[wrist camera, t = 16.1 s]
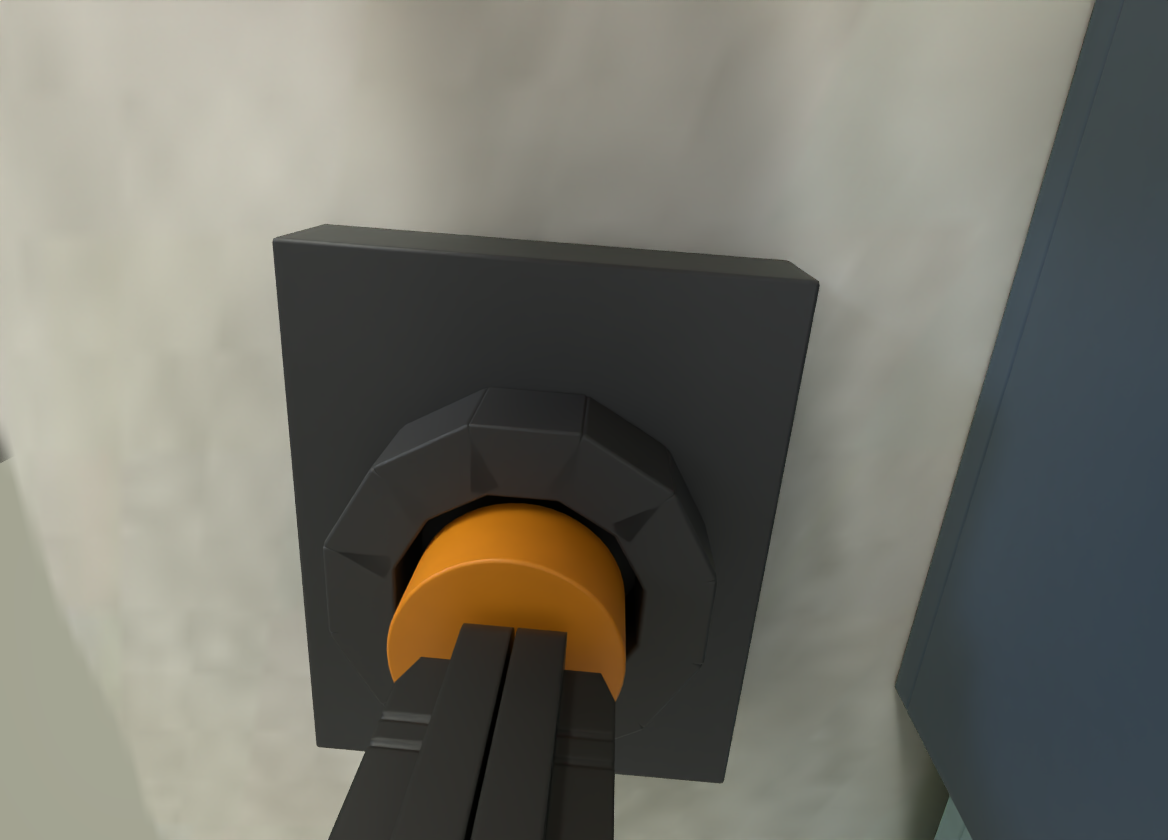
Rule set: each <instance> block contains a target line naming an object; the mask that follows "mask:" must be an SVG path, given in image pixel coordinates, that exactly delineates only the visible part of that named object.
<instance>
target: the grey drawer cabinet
mask: <svg viewBox="0 0 1168 840" xmlns="http://www.w3.org/2000/svg"><path fill="white" fill-rule="evenodd" d="M895 688H896V690H897V692H898V694H899V696H900V698H901V700H902V702H903V704H904V706H905V708H906V709H907V712H908V715H909V717H910V718H911V720H912V722H913V724H914V726H915V728H916V730H917V732H918V734H919V736H920V738H921V740H922V742H923V744H924V746H925V748H926V750H927V752H928V754H929V756H930V758H931V760H932V762H933V764H934V765H935V767H936V769H937V771H938V773H939V775H940V777H941V779H942V781H943V783H944V785H945V787H946V789H947V791H948V793H949V795H950V797H951V799H952V801H953V803H954V805H955V807H956V809H957V810H958V812H959V814H960V816H961V818H962V820H963V822H964V824H965V826H966V828H967V830H968V832H969V834H970V836H971V838H972V840H1168V0H1096V1H1095V5H1094V8H1093V12H1092V15H1091V19H1090V22H1089V25H1088V29H1087V32H1086V36H1085V39H1084V42H1083V46H1082V49H1081V53H1080V56H1079V59H1078V63H1077V66H1076V70H1075V73H1074V77H1073V80H1072V83H1071V87H1070V90H1069V94H1068V97H1067V100H1066V104H1065V107H1064V111H1063V114H1062V118H1061V121H1060V124H1059V128H1058V131H1057V135H1056V138H1055V141H1054V145H1053V148H1052V152H1051V155H1050V158H1049V162H1048V165H1047V169H1046V172H1045V176H1044V179H1043V182H1042V186H1041V189H1040V193H1039V196H1038V199H1037V203H1036V206H1035V210H1034V213H1033V217H1032V220H1031V223H1030V227H1029V230H1028V234H1027V237H1026V240H1025V244H1024V247H1023V251H1022V254H1021V257H1020V261H1019V264H1018V268H1017V271H1016V275H1015V278H1014V281H1013V285H1012V288H1011V292H1010V295H1009V298H1008V302H1007V305H1006V309H1005V312H1004V316H1003V319H1002V322H1001V326H1000V329H999V333H998V336H997V339H996V343H995V346H994V350H993V353H992V356H991V360H990V363H989V367H988V370H987V374H986V377H985V380H984V384H983V387H982V391H981V394H980V397H979V401H978V404H977V408H976V411H975V415H974V418H973V421H972V425H971V428H970V432H969V435H968V438H967V442H966V445H965V449H964V452H963V455H962V459H961V462H960V466H959V469H958V473H957V476H956V479H955V483H954V486H953V490H952V493H951V496H950V500H949V503H948V507H947V510H946V514H945V517H944V520H943V524H942V527H941V531H940V534H939V537H938V541H937V544H936V548H935V551H934V555H933V558H932V561H931V565H930V568H929V572H928V575H927V578H926V582H925V585H924V589H923V592H922V595H921V599H920V602H919V606H918V609H917V613H916V616H915V619H914V623H913V626H912V630H911V633H910V636H909V640H908V643H907V647H906V650H905V654H904V657H903V660H902V664H901V667H900V671H899V674H898V677H897V681H896V684H895Z"/></svg>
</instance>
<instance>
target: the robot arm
mask: <svg viewBox="0 0 1168 840" xmlns="http://www.w3.org/2000/svg"><path fill="white" fill-rule="evenodd" d="M566 647H567V632H561V631H550V630H539V629H528V628H517V631H516V635H515V630H514V627H504V626H493V625H482V624H471V623H463V625H462V627H461V629H460V632H459V635H458V638H457V641H456V644H455V647H454V650H453V653H452V656H451V659H441V658H430V657H420V658H419V659H418V660H417V661H416V662H415V663H414V664H413V665H412V666H411V667H410V668H409V669H408V670H407V671H406V672H405V673H404V674H403V675H402V676H401V677H399V678H398V679H397V680H396V681H395V683H394V686H393V688H392V690H391V693H390V695H389V697H388V700H387V702H386V704H385V707H384V709H383V712H382V717H381V719H379V721H378V723H377V726H376V728H375V730H374V733H373V735H372V737H371V742H370V746H368V747H367V749H366V752H365V754H364V756H363V759H362V761H361V763H360V766H359V768H358V770H357V773H356V775H355V778H354V780H353V782H352V785H351V787H350V789H349V792H348V794H347V796H346V799H345V801H344V803H343V806H342V808H341V810H340V813H339V815H338V818H337V820H336V822H335V825H334V827H333V829H332V832H331V834H330V836H329V839H328V840H614V780H615V769H614V765H615V704H616V702H615V700H614V698H613V696H612V694H611V692H610V690H609V688H608V686H607V684H606V682H605V680H604V678H603V676H602V674H601V673H595V672H584V671H573V670H565V660H566Z"/></svg>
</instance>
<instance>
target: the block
mask: <svg viewBox="0 0 1168 840" xmlns="http://www.w3.org/2000/svg"><path fill="white" fill-rule="evenodd" d="M273 253H274V264H275V276H276V287H277V299H278V310H279V321H280V333H281V344H282V356H283V367H284V378H285V390H286V401H287V413H288V424H289V435H290V447H291V458H292V470H293V481H294V492H295V504H296V515H297V527H298V538H299V549H300V561H301V572H302V584H303V595H304V606H305V618H306V629H307V641H308V652H309V663H310V675H311V686H312V698H313V709H314V720H315V732H316V743H317V746H318V747H324V748H335V749H346V750H357V751H366V749H367V747H368V746H370V742H371V737H372V735H373V733H374V730H375V728H376V726H377V723H378V721H379V719H381V717H382V712H383V709H384V707H385V704H386V702H387V700H388V697H389V695H390V693H391V690H392V688H393V686H394V681H393V679H392V676H391V673H390V669H389V665H388V658H387V637H388V632H389V627H390V624H391V621H392V619H393V616H394V614H395V611H396V609H397V607H398V605H399V603H400V601H401V599H402V597H403V595H404V593H405V590H406V588H407V586H408V584H409V582H410V580H411V578H412V576H413V574H414V572H415V569H416V567H417V565H418V563H419V561H420V559H421V557H422V555H423V553H424V551H425V549H426V548H427V546H428V544H429V543H430V542H431V540H432V539H433V538H434V537H435V535H436V534H437V533H438V532H439V531H440V530H441V529H443V528H444V527H445V526H446V525H447V524H449V523H450V522H452V521H453V520H454V519H456V518H458V517H460V516H462V515H464V514H466V513H468V512H470V511H473V510H476V509H478V508H481V507H485V506H490V505H495V504H503V503H526V504H533V505H539V506H543V507H547V508H551V509H554V510H556V511H559V512H561V513H564V514H566V515H568V516H570V517H572V518H574V519H576V520H577V521H579V522H580V523H582V524H583V525H585V526H586V527H587V528H589V529H590V530H591V531H592V532H593V533H594V534H595V535H597V536H598V537H599V538H600V539H601V541H602V542H603V543H604V544H605V545H606V546H607V548H608V549H609V551H610V552H611V554H612V555H613V557H614V558H615V560H616V563H617V565H618V567H619V569H620V572H621V575H622V579H623V583H624V591H625V631H626V672H625V677H624V682H623V686H622V688H621V691H620V694H619V696H618V698H617V700H616V701H615V702H616V704H615V765H614V769H615V774H623V775H634V776H645V777H656V778H667V779H678V780H689V781H700V782H711V783H723V781H724V778H725V772H726V767H727V762H728V757H729V752H730V746H731V741H732V736H733V731H734V726H735V721H736V715H737V710H738V705H739V700H740V695H741V690H742V684H743V679H744V674H745V669H746V664H747V658H748V653H749V648H750V643H751V638H752V633H753V627H754V622H755V617H756V612H757V607H758V602H759V596H760V591H761V586H762V581H763V576H764V571H765V565H766V560H767V555H768V550H769V545H770V539H771V534H772V529H773V524H774V519H775V514H776V508H777V503H778V498H779V493H780V488H781V483H782V477H783V472H784V467H785V462H786V457H787V452H788V446H789V441H790V436H791V431H792V426H793V420H794V415H795V410H796V405H797V400H798V395H799V389H800V384H801V379H802V374H803V369H804V364H805V358H806V353H807V348H808V343H809V338H810V332H811V327H812V322H813V317H814V312H815V307H816V301H817V296H818V291H819V286H820V285H819V281H817V280H816V279H814V278H813V277H811V276H810V275H808V274H807V273H805V272H804V271H802V270H801V269H800V268H798V267H797V266H795V265H794V264H792V263H791V262H789V261H784V260H772V259H759V258H746V257H734V256H721V255H708V254H696V253H683V252H670V251H658V250H645V249H632V248H620V247H607V246H594V245H582V244H569V243H556V242H544V241H531V240H518V239H506V238H493V237H480V236H468V235H455V234H442V233H430V232H417V231H404V230H392V229H379V228H366V227H354V226H341V225H328V224H324V225H320V226H317V227H313V228H309V229H305V230H302V231H298V232H294V233H291V234H287V235H283V236H280V237H276V238H274V239H273Z"/></svg>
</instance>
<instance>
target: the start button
mask: <svg viewBox="0 0 1168 840" xmlns="http://www.w3.org/2000/svg"><path fill="white" fill-rule="evenodd" d="M463 623H471V624H482V625H493V626H504V627H514V630H515V635H516V631H517V628H528V629H539V630H550V631H561V632H567V647H566V660H565V670H573V671H584V672H595V673H601V674H602V676H603V678H604V680H605V682H606V684H607V686H608V688H609V690H610V692H611V694H612V696H613V698H614V700H615V701H616V700H617V698H618V696H619V694H620V691H621V688H622V686H623V682H624V677H625V672H626V631H625V591H624V583H623V579H622V575H621V572H620V569H619V567H618V565H617V563H616V560H615V558H614V557H613V555H612V554H611V552H610V551H609V549H608V548H607V546H606V545H605V544H604V543H603V542H602V541H601V539H600V538H599V537H598V536H597V535H595V534H594V533H593V532H592V531H591V530H590V529H589V528H587V527H586V526H585V525H583V524H582V523H580V522H579V521H577V520H576V519H574V518H572V517H570V516H568V515H566V514H564V513H561V512H559V511H556V510H554V509H551V508H547V507H543V506H539V505H533V504H526V503H503V504H495V505H490V506H485V507H481V508H478V509H476V510H473V511H470V512H468V513H466V514H464V515H462V516H460V517H458V518H456V519H454V520H453V521H452V522H450V523H449V524H447V525H446V526H445V527H444V528H443V529H441V530H440V531H439V532H438V533H437V534H436V535H435V537H434V538H433V539H432V540H431V542H430V543H429V544H428V546H427V548H426V549H425V551H424V553H423V555H422V557H421V559H420V561H419V563H418V565H417V567H416V569H415V572H414V574H413V576H412V578H411V580H410V582H409V584H408V586H407V588H406V590H405V593H404V595H403V597H402V599H401V601H400V603H399V605H398V607H397V609H396V611H395V614H394V616H393V619H392V621H391V624H390V627H389V632H388V637H387V658H388V665H389V669H390V673H391V676H392V679H393V681H394V683H395V681H396V680H397V679H398V678H399V677H401V676H402V675H403V674H404V673H405V672H406V671H407V670H408V669H409V668H410V667H411V666H412V665H413V664H414V663H415V662H416V661H417V660H418V659H419V658H420V657H430V658H441V659H451V656H452V653H453V650H454V647H455V644H456V641H457V638H458V635H459V632H460V629H461V627H462V625H463Z"/></svg>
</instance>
